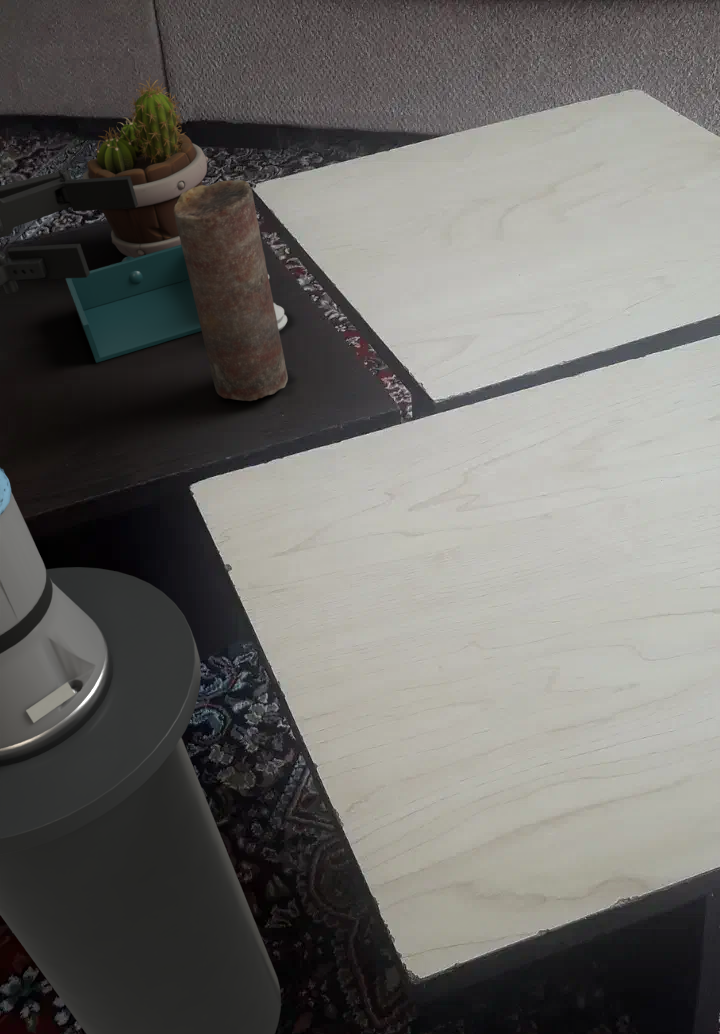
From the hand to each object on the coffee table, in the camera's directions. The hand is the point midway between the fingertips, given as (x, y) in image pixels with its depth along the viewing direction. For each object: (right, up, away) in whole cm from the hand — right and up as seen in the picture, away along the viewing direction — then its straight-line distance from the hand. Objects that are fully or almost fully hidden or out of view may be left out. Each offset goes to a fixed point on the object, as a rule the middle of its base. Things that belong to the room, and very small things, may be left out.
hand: (109, 224), depth 96 cm
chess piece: (+12, -4, +20) cm, 23 cm away
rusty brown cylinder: (+12, -13, +11) cm, 20 cm away
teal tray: (-2, 0, +26) cm, 26 cm away
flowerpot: (-2, +11, +37) cm, 39 cm away
